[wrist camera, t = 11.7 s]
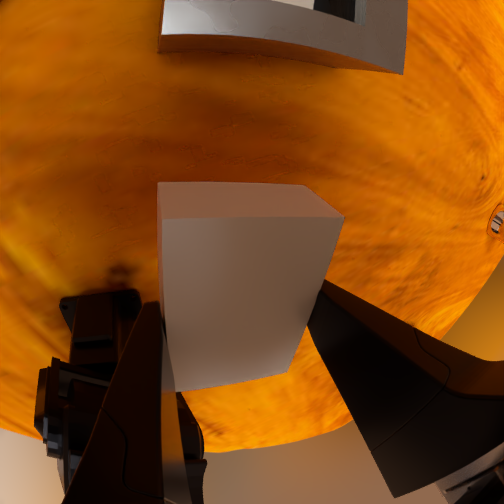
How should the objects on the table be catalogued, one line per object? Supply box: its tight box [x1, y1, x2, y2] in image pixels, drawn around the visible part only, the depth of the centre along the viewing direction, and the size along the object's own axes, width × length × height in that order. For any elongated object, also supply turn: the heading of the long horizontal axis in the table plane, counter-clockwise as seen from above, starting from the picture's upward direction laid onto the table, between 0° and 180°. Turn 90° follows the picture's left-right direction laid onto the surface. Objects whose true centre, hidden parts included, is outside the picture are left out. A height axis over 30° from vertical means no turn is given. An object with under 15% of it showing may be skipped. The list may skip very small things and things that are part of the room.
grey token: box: [157, 182, 345, 392], centre depth 8 cm, size 6×4×2 cm, turn 171°
